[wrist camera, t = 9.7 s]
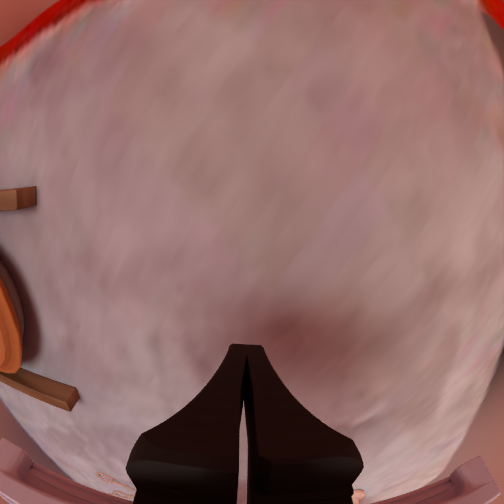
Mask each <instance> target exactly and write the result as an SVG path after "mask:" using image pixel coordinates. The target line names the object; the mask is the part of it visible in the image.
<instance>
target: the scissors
mask: <svg viewBox="0 0 504 504" xmlns="http://www.w3.org/2000/svg"><path fill="white" fill-rule="evenodd" d="M96 475H97V476H98V477H99V478H101V479H102V480H104V481H106V482H109V483H111V484H118V485H122V486H124V487H127V488H129V489H131V490H133V491H135V492H136V489H133V488H131V487H129V486H127V485H124V484H121V483H119V482H118V481H116V480H115V479H113V478H112V477H110V476H108V475H106V474H103V473H99V472H97V473H96ZM100 475H103V476H106V477H108V478H110V479H111V480H113V481H109V480H107V479H104V478H102V477H101V476H100ZM116 493H120V494H123V495H126V496H127V497H124V496H120V495H118V494H116ZM109 495H112V496H113V495H114V496H118V497H121V498H125V499H130V498H131V497H135V495H130V494H126V493H123V492H121V491H117V490H115V491H113V493H112V494H111V493H109Z"/></svg>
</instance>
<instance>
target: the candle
mask: <svg viewBox="0 0 504 504" xmlns="http://www.w3.org/2000/svg"><path fill="white" fill-rule="evenodd" d="M353 491H354V494H353V495H352V500H353V504H359V500H361V499H362V498H363V497H364V496H365V493H364V491H363V490H353Z"/></svg>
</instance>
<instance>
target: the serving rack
mask: <svg viewBox="0 0 504 504" xmlns="http://www.w3.org/2000/svg"><path fill="white" fill-rule="evenodd" d="M33 205H36V186H34V187H24V188H14V189H6V190H0V210H18V209H21V208H25V207H29V206H33ZM0 381H1V382H3V383H5V384H7V385H9V386H11V387H13V388H15V389H17V390H19V391H21V392H23V393H25V394H27V395H30V396H32V397H34V398H36V399H39V400H41V401H44V402H46V403H48V404H51V405H53V406H56V407H59V408H61V409H64V410H67V411H70V412H71V410H72V409H73V407H74V406H75V404H76V402H77V401H78V399H79V398H80V397H79V394H78V392H77V390H76V388H75V387H72V386H69V385H66V384H62V383H59V382H57V381H54V380H51V379H48V378H45V377H43V376H40V375H37V374H35V373H32V372H30V371H27V370H25V369H22V368H19V370H18V371H17V372H16V373H5V372H1V371H0Z"/></svg>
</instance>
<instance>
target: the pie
mask: <svg viewBox="0 0 504 504" xmlns="http://www.w3.org/2000/svg"><path fill="white" fill-rule="evenodd" d="M24 326H25V323H24V312H23V308H22V304H21V300H20V296H19V294H18V292H17V289H16V287H15V284H14V282H13V280H12V278H11V276H10V274H9V272H8V271H7V269H6V267H5V266H4V264H3V263H2V262H1V260H0V371H1V372H5V373H16V372H17V371H18V370H19V368H20V367H21V365H22V339H23V332H24Z"/></svg>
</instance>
